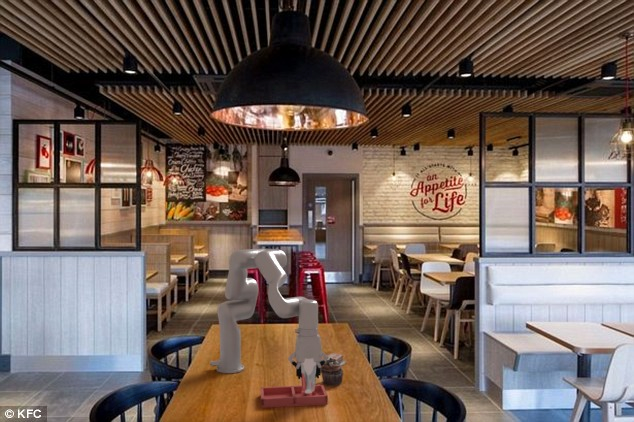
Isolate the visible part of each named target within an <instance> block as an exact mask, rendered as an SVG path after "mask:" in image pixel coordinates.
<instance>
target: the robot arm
mask: <svg viewBox="0 0 634 422" xmlns="http://www.w3.org/2000/svg"><path fill="white" fill-rule="evenodd" d="M228 261H229V262H228V275H227V279H226V284H225V288H224V289H225V290H224V295H225V296H224V297H225V298H226V299H227V300H226V301H224V302H221V303H220V304H219V305H218V308H217V318H218V324H219V325H218V326H219V359H218V360H210V363H209V365H210V366H211V367H216V371H217V372H218V373H220V374H235V373H239V372H240V373H241V372H242V371H244V370H245V365H244V364H242V362H241V361H242V352H241V351H242V349H241V348H242V341H241V340H242V337H241V335H242V333H241V332H242V331H241V328H240V326H239V324H238V323H237V322H239V321H243V320H247V319H250V318H252V317H253V315H254V313H255V308H256V305H257V300H258V296H259V284H258V281H256V280H255V279H254V278H252V277H248V270H249V269H258V270H259V272H260V274H261V275H262V276H263V278H264V279H265V281H266V283H267V284H268V289H267V297H268V302H269V305H270V306H271V308H272V310H273V311H274V312H275V314H276V315H277V316H278V317H279V318H281V319H289V318H295V317H298V328H296V329H294V333H295V334H297V335H296V338H295V339H296V340H295V350H294V351H293V352H292V354H290V355H289V356H288V357H287V359H288V361H289V362H290V364H291V365H292V366H293V367H294V368H295V374H296V375H295V377H297V378H298V380H301V377H300V365H301V363H303V362H304V361H305V358H314V362H317V375H316V379H320V376H321V372H320V368H321V367H322V365H323V364H324V363H325V362H326V361H327V360H328V358H329V357H328V354H326V353H325V352H324V351H323V349H322V339H321V335H320V334H319V303H318V301H317V300H314V299H308V298H307V297H305V296H294V297H287V298H284V297H283V296H282V294H281V293H280V290H279V288H280V287H282V286H283V285H284V284H285V283H286V282H287V279H288V275H287V273H286V271H285V270H284V268H285V267H286V265H287V264H288V257H287V255H286V253H285V252H284V251H283V250H281V249H279V248H277V249H276V248H251V249H250V248H249V249H239V250H234V251H233V252H232V253H231V254H230V256H229V260H228ZM294 358H295V360H294ZM322 359H323V360H322Z"/></svg>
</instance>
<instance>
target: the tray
mask: <svg viewBox="0 0 634 422" xmlns="http://www.w3.org/2000/svg"><path fill="white" fill-rule="evenodd" d="M301 388H302V385H283V386H265V387H264V386H260V408H261V409H262V408H263V409H264V408H265V409H266V408H282V407H284V408H285V407H301V406H303V407H305V406H323V405H328V403H329V402H328V399H329V398H328V393H327V391H326V389H325V385H324V384H315V390H316V395H315V396H301Z"/></svg>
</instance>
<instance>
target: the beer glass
mask: <svg viewBox="0 0 634 422" xmlns="http://www.w3.org/2000/svg"><path fill="white" fill-rule="evenodd" d="M316 375H317V362H314V358H305V361H304V362H303V363H301V365H300V380H301V381H300V384H301V386H302V388H301V396H315V395H316V390H315V385H316V380H317V377H316Z"/></svg>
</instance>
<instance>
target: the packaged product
mask: <svg viewBox="0 0 634 422" xmlns="http://www.w3.org/2000/svg"><path fill="white" fill-rule="evenodd" d="M327 356H328V357H329V358H328V360H329V359H330V358H332V359H336V361H337V362H338V363H339V364H340V365H341V366H342V367H343V366H345V364H347V362H348V361H346V360H343V359H344V355H343V354H342V353H336V352H331V353H329V354H327ZM322 360H323V358H322ZM320 373H321V368H320Z"/></svg>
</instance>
